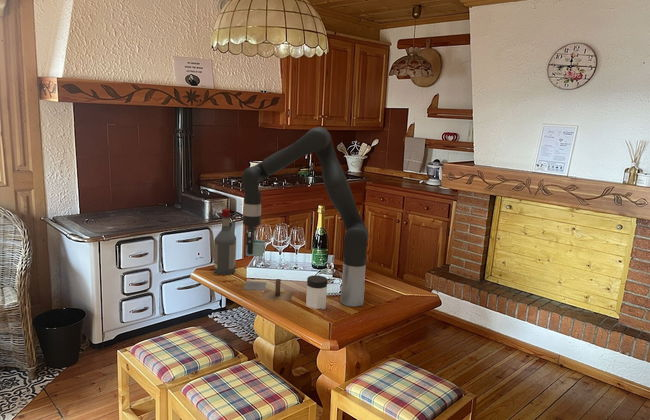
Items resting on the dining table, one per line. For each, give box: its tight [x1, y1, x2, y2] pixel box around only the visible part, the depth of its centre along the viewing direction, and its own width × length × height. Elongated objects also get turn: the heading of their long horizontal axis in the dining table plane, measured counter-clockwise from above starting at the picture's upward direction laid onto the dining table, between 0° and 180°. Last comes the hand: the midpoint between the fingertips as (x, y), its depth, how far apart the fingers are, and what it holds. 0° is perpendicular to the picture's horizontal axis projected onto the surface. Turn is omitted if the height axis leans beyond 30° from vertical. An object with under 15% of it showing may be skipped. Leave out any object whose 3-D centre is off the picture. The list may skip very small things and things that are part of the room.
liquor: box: [213, 208, 237, 276], centre depth 228 cm, size 9×9×30 cm
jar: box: [305, 274, 328, 310], centre depth 197 cm, size 9×8×12 cm
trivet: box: [243, 280, 267, 291], centre depth 214 cm, size 9×9×1 cm
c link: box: [245, 239, 266, 257], centre depth 210 cm, size 7×6×6 cm
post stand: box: [261, 278, 293, 302], centre depth 204 cm, size 12×9×8 cm
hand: (250, 251), depth 210 cm, fingers closed on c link, 6 cm apart
